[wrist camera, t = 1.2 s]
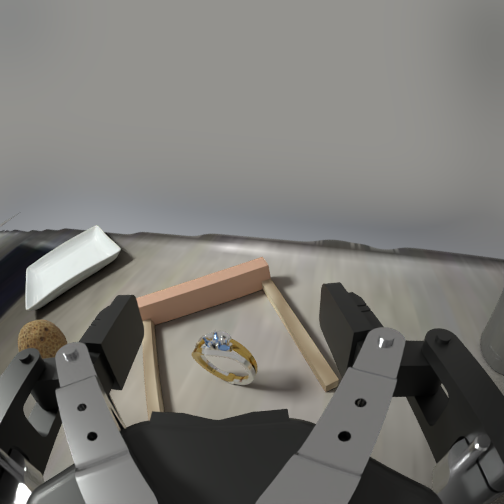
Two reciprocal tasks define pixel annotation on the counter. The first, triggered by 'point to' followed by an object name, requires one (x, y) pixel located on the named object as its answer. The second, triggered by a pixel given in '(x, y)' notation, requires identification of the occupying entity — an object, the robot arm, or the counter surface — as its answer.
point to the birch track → (288, 319)
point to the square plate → (68, 266)
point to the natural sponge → (41, 338)
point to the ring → (225, 356)
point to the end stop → (204, 292)
